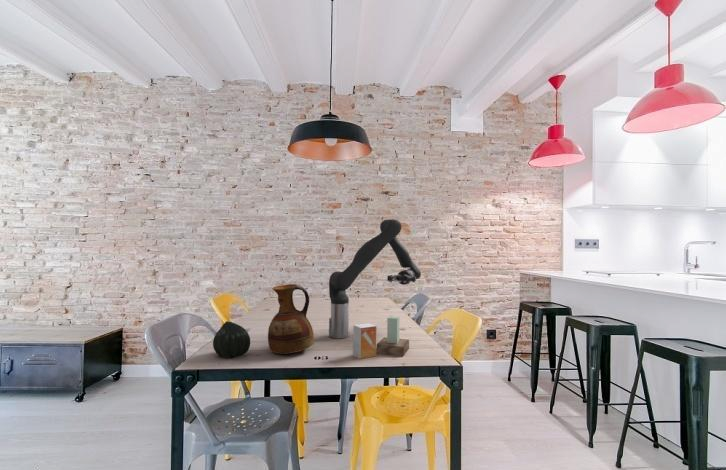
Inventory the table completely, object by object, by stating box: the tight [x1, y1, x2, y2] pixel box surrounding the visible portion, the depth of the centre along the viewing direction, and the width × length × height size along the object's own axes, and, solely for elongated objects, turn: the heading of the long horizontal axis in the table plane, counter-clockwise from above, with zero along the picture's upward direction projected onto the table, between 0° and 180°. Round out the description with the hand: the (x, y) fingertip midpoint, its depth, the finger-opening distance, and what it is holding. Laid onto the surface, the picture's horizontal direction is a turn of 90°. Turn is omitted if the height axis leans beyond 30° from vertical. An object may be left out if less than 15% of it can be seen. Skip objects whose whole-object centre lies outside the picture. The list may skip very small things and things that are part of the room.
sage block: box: [386, 315, 400, 344], centre depth 166 cm, size 4×4×11 cm
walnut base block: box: [376, 336, 410, 357], centre depth 165 cm, size 12×12×4 cm
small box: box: [352, 323, 377, 360], centre depth 158 cm, size 8×6×13 cm
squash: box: [212, 320, 251, 359], centre depth 158 cm, size 14×15×15 cm
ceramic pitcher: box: [267, 283, 315, 355], centre depth 164 cm, size 20×20×30 cm
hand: (398, 279), depth 184 cm, fingers open, 8 cm apart
